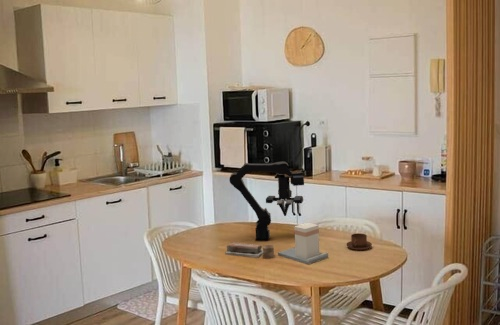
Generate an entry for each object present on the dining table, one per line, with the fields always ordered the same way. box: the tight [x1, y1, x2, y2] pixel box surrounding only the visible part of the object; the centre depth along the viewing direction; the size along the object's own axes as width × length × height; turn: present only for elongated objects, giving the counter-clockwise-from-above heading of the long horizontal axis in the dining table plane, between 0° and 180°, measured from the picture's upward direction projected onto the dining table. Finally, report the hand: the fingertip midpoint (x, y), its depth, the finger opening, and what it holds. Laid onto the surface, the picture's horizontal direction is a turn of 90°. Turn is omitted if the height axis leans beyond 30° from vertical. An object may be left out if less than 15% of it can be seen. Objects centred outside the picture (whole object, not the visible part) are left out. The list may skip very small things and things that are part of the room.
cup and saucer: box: [346, 233, 373, 251], centre depth 276 cm, size 12×12×6 cm
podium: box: [277, 246, 329, 265], centre depth 267 cm, size 20×13×2 cm, turn 40°
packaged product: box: [224, 241, 263, 259], centre depth 276 cm, size 18×5×10 cm
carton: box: [294, 222, 320, 259], centre depth 264 cm, size 7×9×14 cm
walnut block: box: [262, 244, 275, 259], centre depth 269 cm, size 5×5×5 cm
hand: (285, 215), depth 296 cm, fingers closed
